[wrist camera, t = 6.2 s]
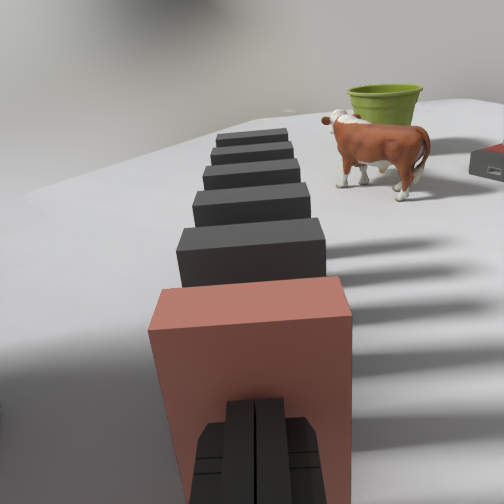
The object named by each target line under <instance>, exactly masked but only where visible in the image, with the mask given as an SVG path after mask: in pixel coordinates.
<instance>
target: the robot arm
mask: <svg viewBox="0 0 504 504" xmlns="http://www.w3.org/2000/svg"><path fill="white" fill-rule="evenodd" d="M189 504H327V501H326V494H325V488H324V481H323V475H322V470H321V462H320V456H319V449H318V443H317V436H316V432H315V430H314V429H313V427H312V426H311V424H310V423H309V422H308V420H307V419H306V417H294V418H285V410H284V398H283V397H278V398H262V399H256V406H255V400H254V399H248V400H233V401H227V405H226V418H225V422H216V423H208V424H207V425H206V427H205V429H204V430H203V432H202V434H201V435H200V437H199V438H198V442H197V449H196V456H195V464H194V471H193V478H192V485H191V493H190V500H189Z"/></svg>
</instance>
